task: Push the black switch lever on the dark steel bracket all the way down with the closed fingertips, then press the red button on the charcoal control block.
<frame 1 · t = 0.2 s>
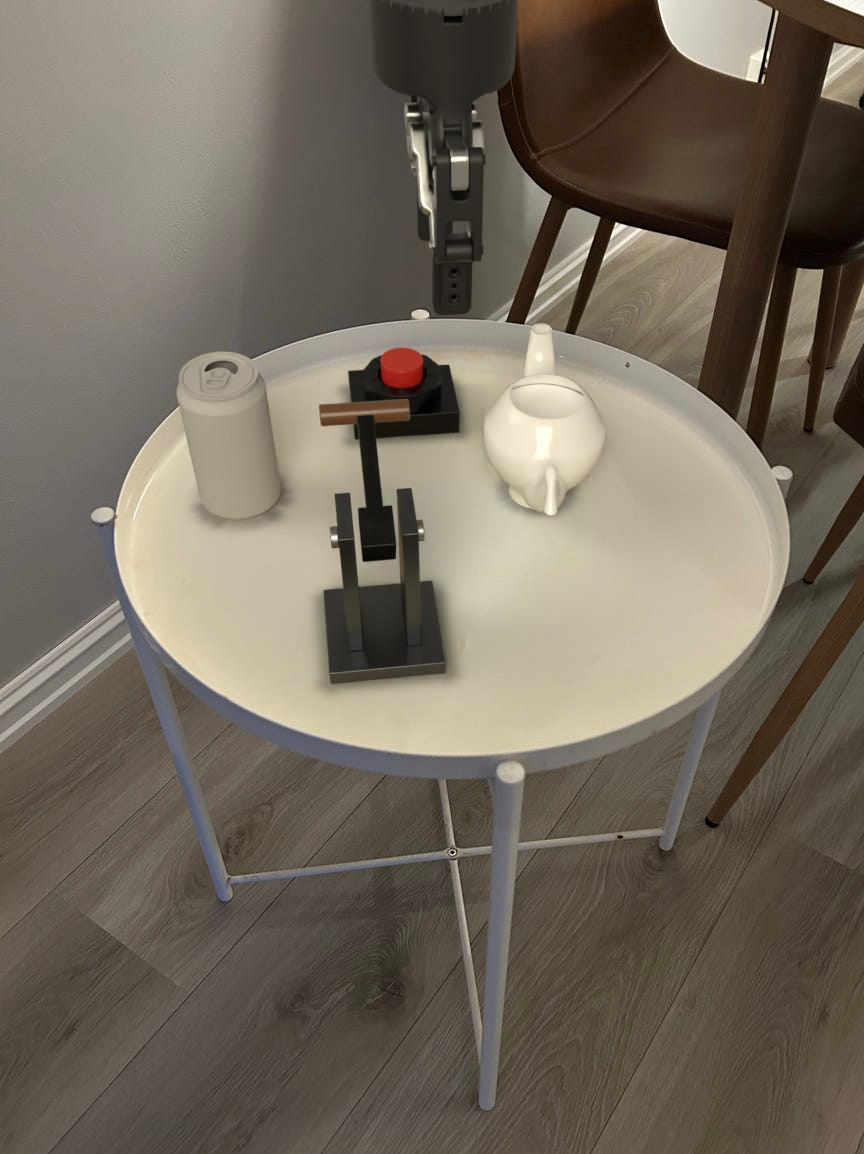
hand: (442, 273, 66), 23 cm above the table, tool pointing down, fingers open, 8 cm apart
bracket: (383, 636, 77), on the table
teapot: (538, 492, 88), on the table
button: (402, 368, 91), point 4 cm above the table, slide at 0.1 cm
beverage can: (242, 500, 86), on the table
control block: (403, 411, 94), on the table
lever: (371, 476, 70), point 12 cm above the table, hinge at 22.0°
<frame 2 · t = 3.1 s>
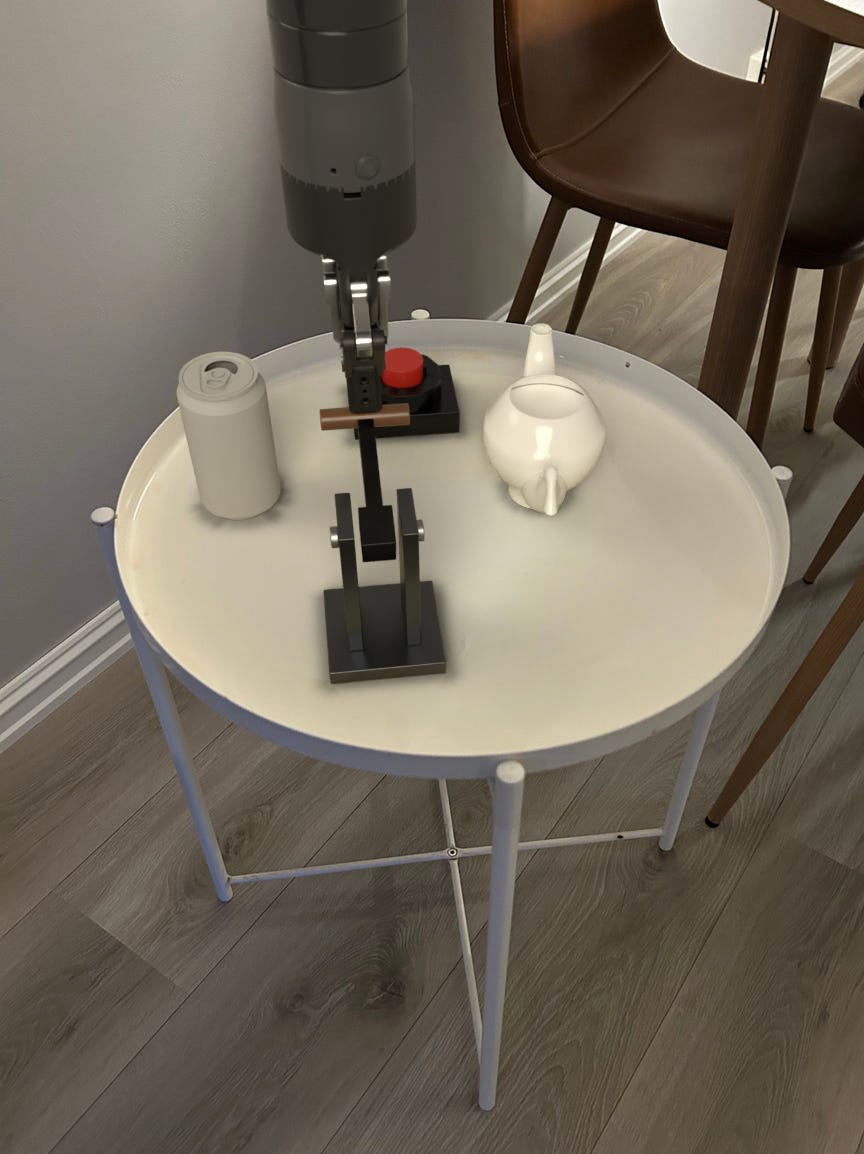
hand: (365, 406, 72), 14 cm above the table, tool pointing down, fingers closed
lever: (371, 478, 71), point 11 cm above the table, hinge at 18.5°, touching gripper
everything else where it was.
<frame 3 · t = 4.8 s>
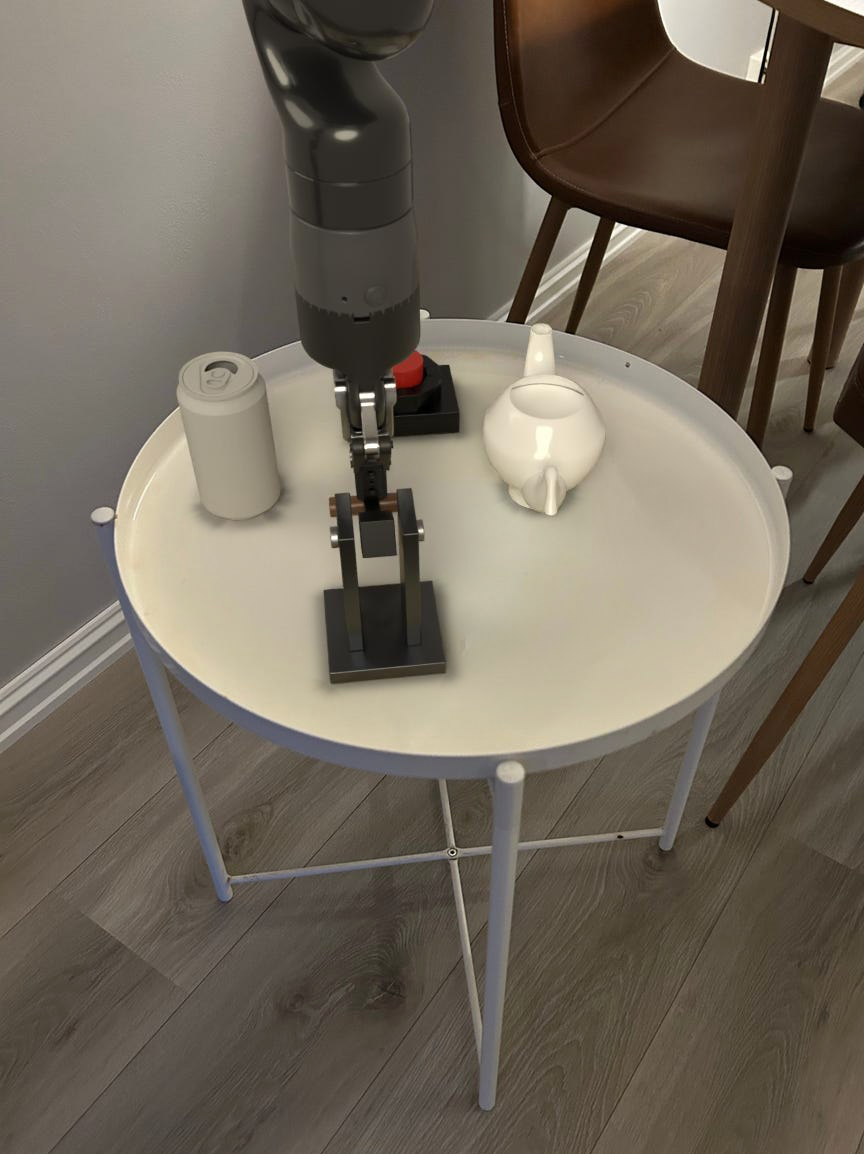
hand: (371, 493, 77), 6 cm above the table, tool pointing down, fingers closed
lever: (374, 519, 73), point 8 cm above the table, hinge at -29.3°, touching gripper
everything else where it was.
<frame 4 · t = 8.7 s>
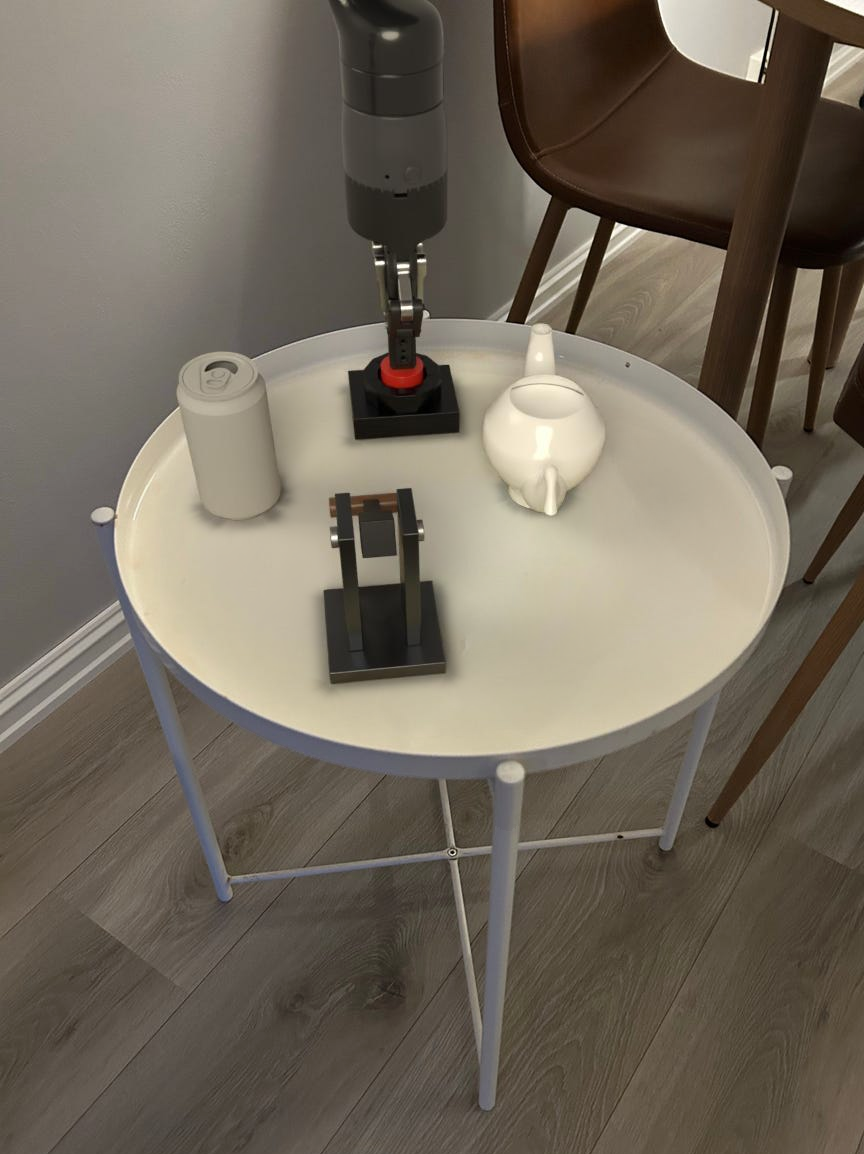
hand: (402, 364, 90), 5 cm above the table, tool pointing down, fingers closed
button: (402, 373, 91), point 4 cm above the table, slide at -0.4 cm, touching gripper
lever: (374, 519, 73), point 8 cm above the table, hinge at -29.4°
everything else where it was.
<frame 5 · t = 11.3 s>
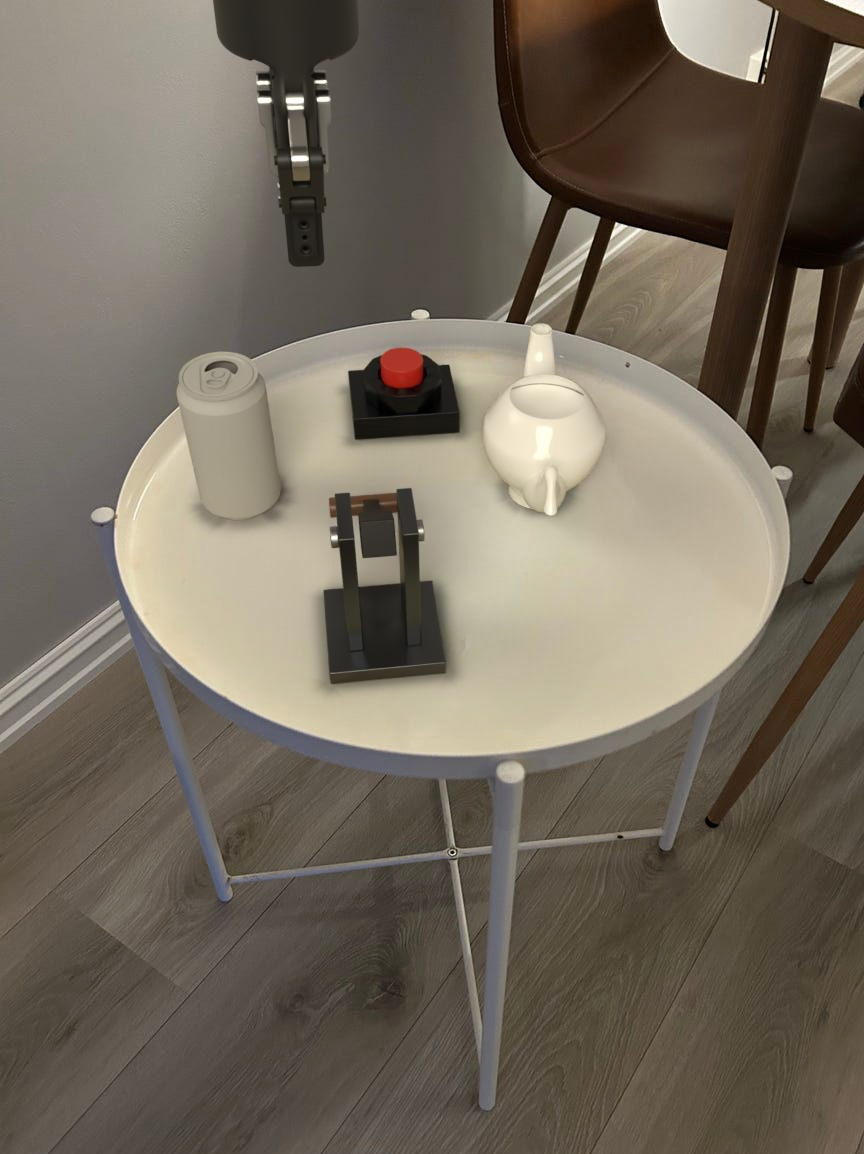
hand: (306, 260, 67), 23 cm above the table, tool pointing down, fingers closed
button: (402, 368, 91), point 4 cm above the table, slide at 0.1 cm
everything else where it was.
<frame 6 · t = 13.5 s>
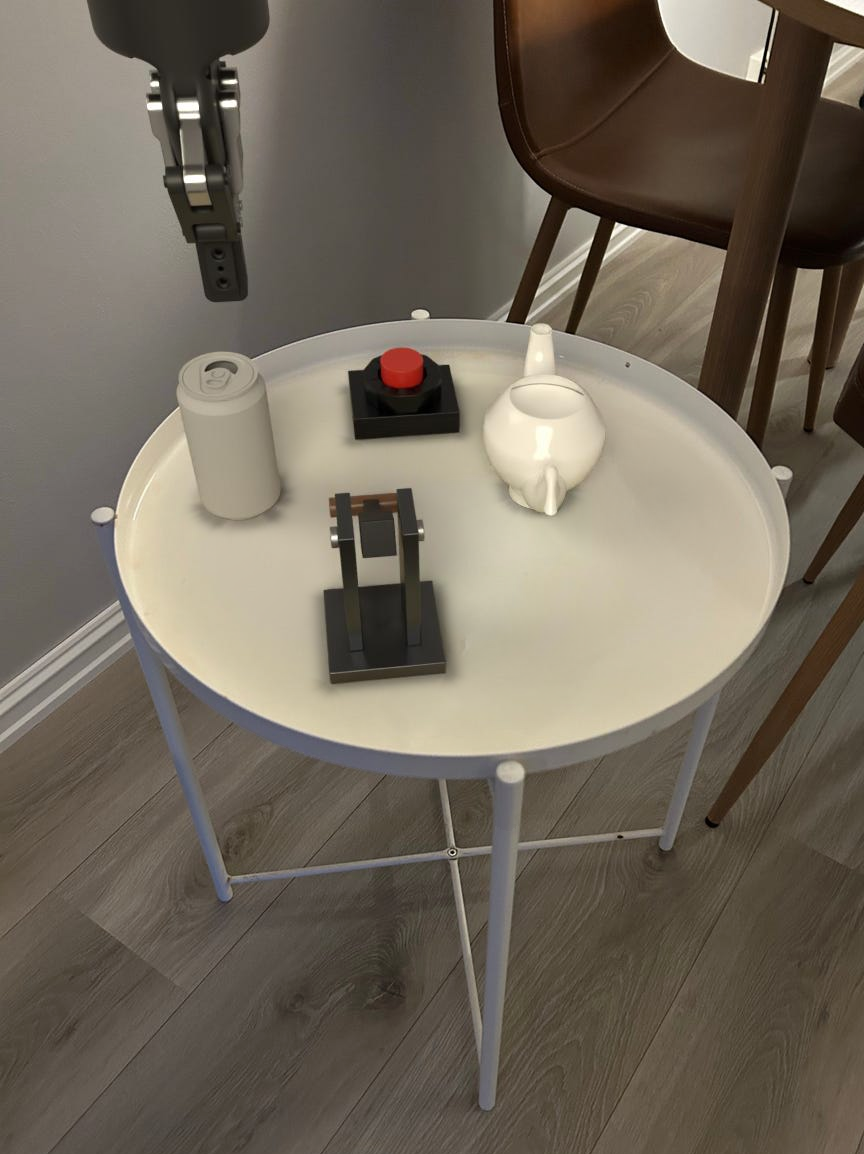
hand: (227, 294, 56), 27 cm above the table, tool pointing down, fingers closed
nothing on the table moved.
at the end: lever at -29° (first picture: +22°); button pushed in 1.0 cm at the most during the clip, back to where it started at the end; button slide at 0.1 cm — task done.
